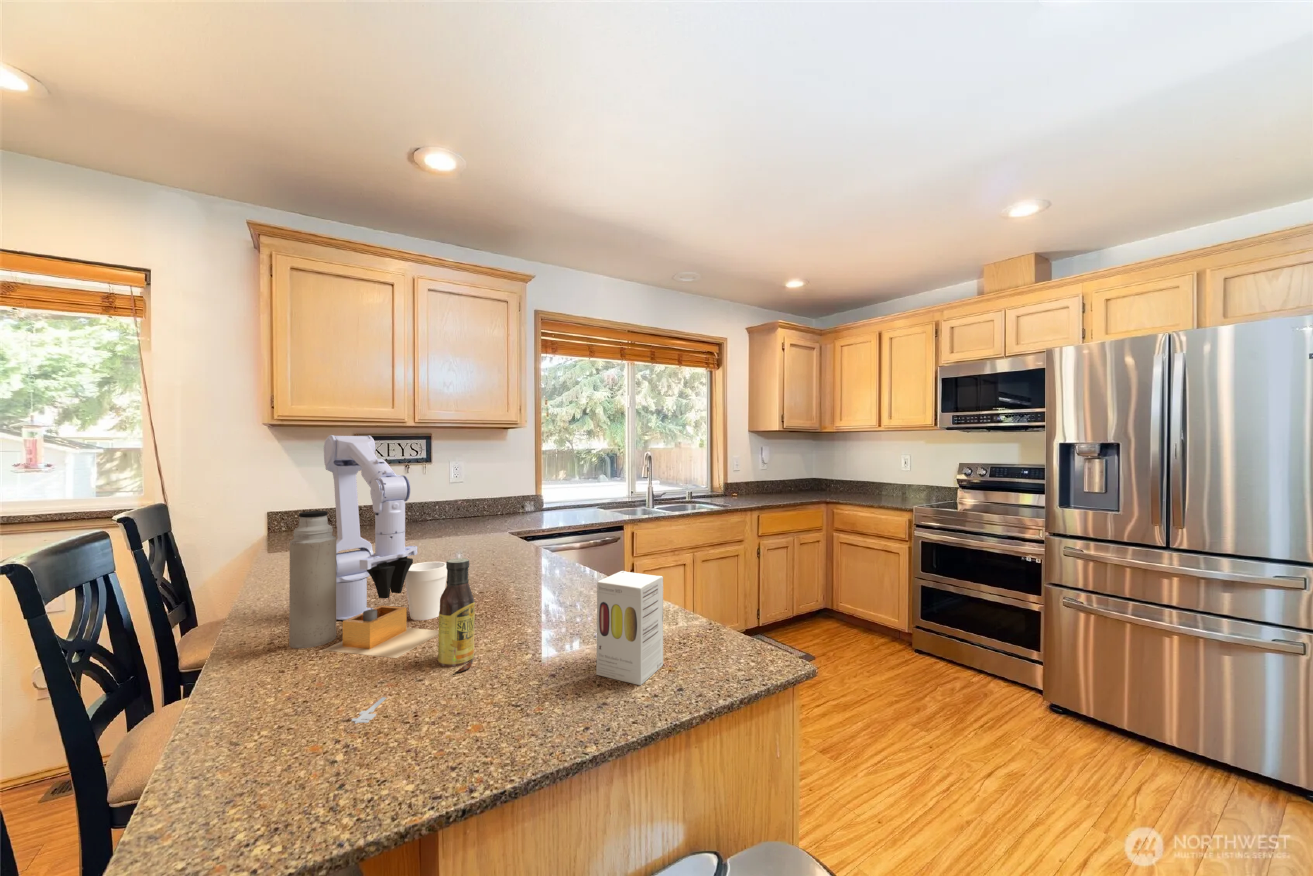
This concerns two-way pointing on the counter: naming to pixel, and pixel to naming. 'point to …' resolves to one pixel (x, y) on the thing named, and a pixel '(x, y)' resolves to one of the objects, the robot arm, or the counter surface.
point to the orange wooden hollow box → (374, 627)
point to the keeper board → (389, 641)
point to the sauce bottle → (456, 618)
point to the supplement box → (629, 626)
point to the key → (365, 713)
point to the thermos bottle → (312, 582)
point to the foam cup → (425, 589)
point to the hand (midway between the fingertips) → (390, 595)
